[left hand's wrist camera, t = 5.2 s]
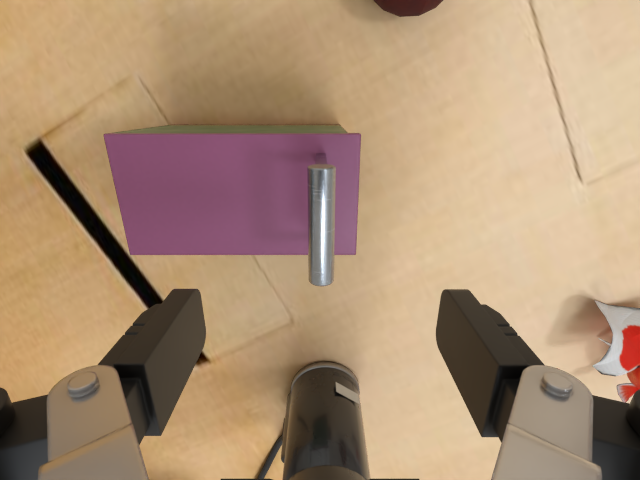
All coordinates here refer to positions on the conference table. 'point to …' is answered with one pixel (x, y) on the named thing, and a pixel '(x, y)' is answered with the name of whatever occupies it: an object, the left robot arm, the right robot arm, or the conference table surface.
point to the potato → (408, 6)
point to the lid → (239, 194)
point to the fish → (622, 347)
